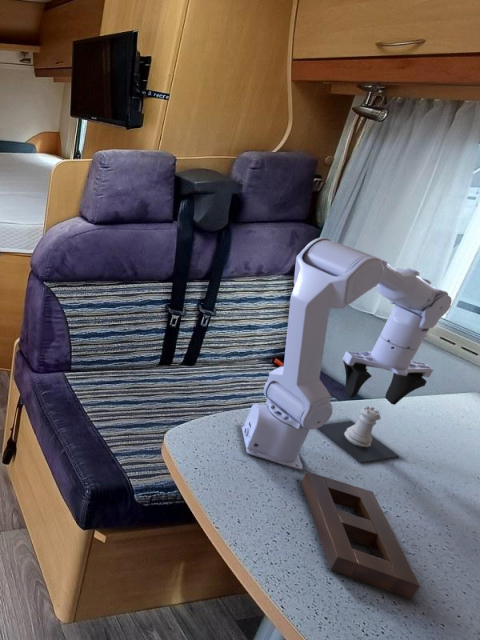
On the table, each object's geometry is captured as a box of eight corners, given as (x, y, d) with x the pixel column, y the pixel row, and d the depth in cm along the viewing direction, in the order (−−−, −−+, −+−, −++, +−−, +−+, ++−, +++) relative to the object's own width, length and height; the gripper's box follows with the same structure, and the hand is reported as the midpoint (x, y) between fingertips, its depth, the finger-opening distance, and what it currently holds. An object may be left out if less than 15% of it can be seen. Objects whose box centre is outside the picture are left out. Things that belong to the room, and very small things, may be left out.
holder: (330, 569, 70) (337, 556, 69) (300, 482, 85) (306, 470, 84) (411, 599, 67) (420, 586, 66) (365, 503, 82) (372, 491, 81)
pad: (360, 463, 91) (361, 462, 91) (315, 426, 100) (315, 425, 100) (398, 457, 93) (399, 456, 93) (351, 421, 102) (351, 420, 102)
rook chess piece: (375, 450, 94) (392, 419, 91) (351, 446, 95) (367, 415, 91) (361, 434, 98) (377, 404, 95) (338, 430, 99) (353, 401, 96)
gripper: (371, 346, 86) (342, 404, 91) (457, 359, 84) (423, 417, 89) (348, 327, 92) (322, 382, 97) (428, 338, 90) (398, 394, 96)
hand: (369, 397), depth 94 cm, fingers open, 7 cm apart
